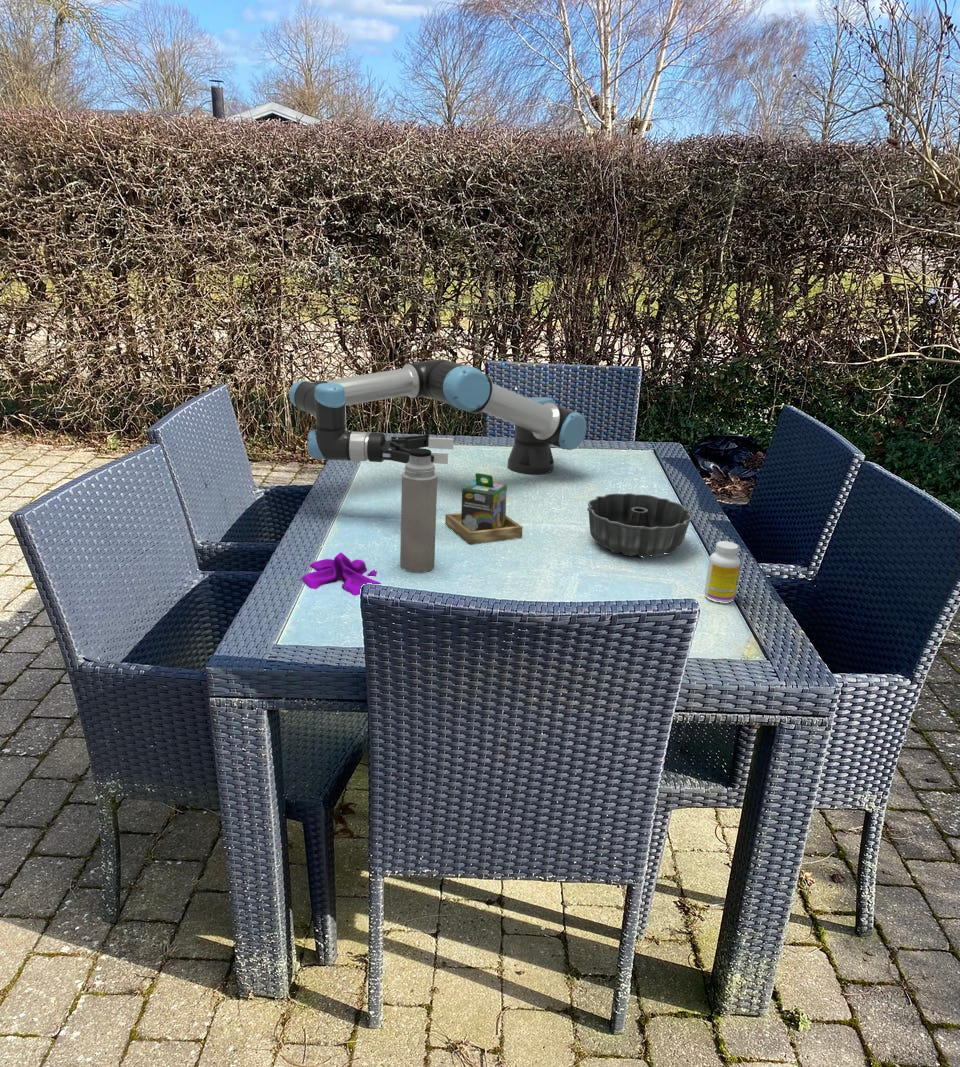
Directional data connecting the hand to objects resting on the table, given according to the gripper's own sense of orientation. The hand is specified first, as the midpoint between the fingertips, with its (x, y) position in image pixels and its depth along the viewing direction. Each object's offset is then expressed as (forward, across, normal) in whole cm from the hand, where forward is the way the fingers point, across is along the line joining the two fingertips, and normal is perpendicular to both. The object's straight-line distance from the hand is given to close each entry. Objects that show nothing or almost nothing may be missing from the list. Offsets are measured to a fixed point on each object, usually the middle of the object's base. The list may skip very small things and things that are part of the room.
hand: (450, 451), depth 229 cm
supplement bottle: (+64, +36, -21) cm, 77 cm away
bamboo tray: (+9, +3, -20) cm, 23 cm away
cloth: (-20, +38, -20) cm, 47 cm away
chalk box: (+9, +3, -20) cm, 22 cm away
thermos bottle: (-4, +30, -20) cm, 36 cm away
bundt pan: (+48, +6, -21) cm, 53 cm away
